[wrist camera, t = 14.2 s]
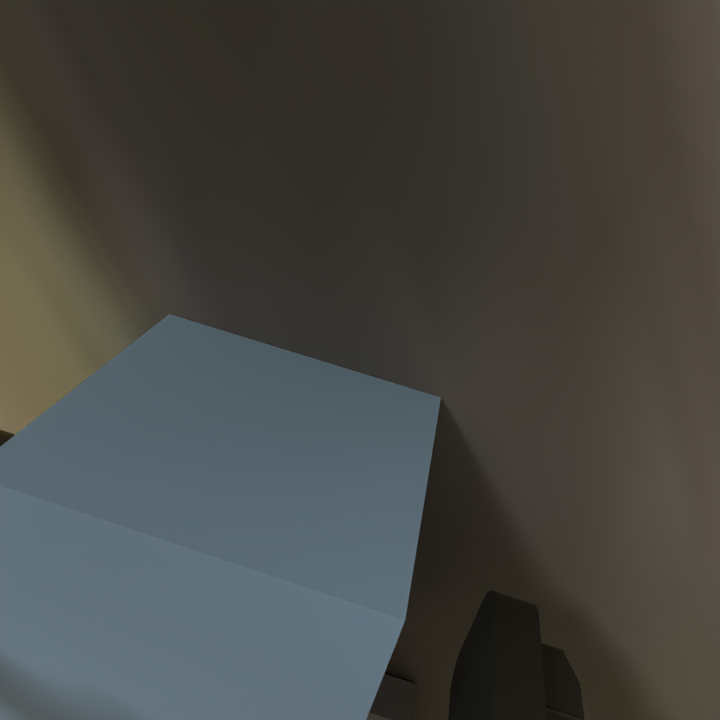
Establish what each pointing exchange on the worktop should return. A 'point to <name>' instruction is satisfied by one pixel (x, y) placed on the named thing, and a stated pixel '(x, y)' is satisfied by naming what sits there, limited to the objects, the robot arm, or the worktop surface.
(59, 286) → the worktop surface
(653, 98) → the worktop surface
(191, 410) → the slate cube
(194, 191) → the worktop surface
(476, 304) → the worktop surface
